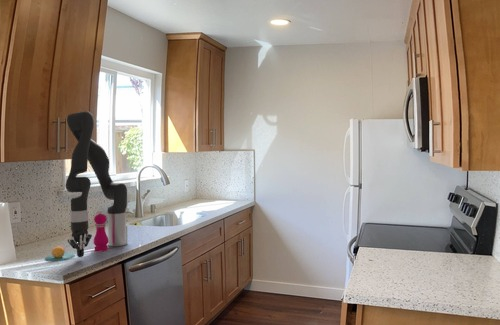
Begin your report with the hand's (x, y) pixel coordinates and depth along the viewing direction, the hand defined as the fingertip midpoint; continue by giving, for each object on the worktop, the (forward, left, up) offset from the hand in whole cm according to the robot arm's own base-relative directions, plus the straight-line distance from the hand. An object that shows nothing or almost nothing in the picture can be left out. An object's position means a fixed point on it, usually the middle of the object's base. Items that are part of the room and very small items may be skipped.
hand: (80, 256), depth 191 cm
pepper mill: (-18, -4, -2) cm, 19 cm away
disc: (0, -13, -2) cm, 13 cm away
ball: (+1, -13, +1) cm, 13 cm away
